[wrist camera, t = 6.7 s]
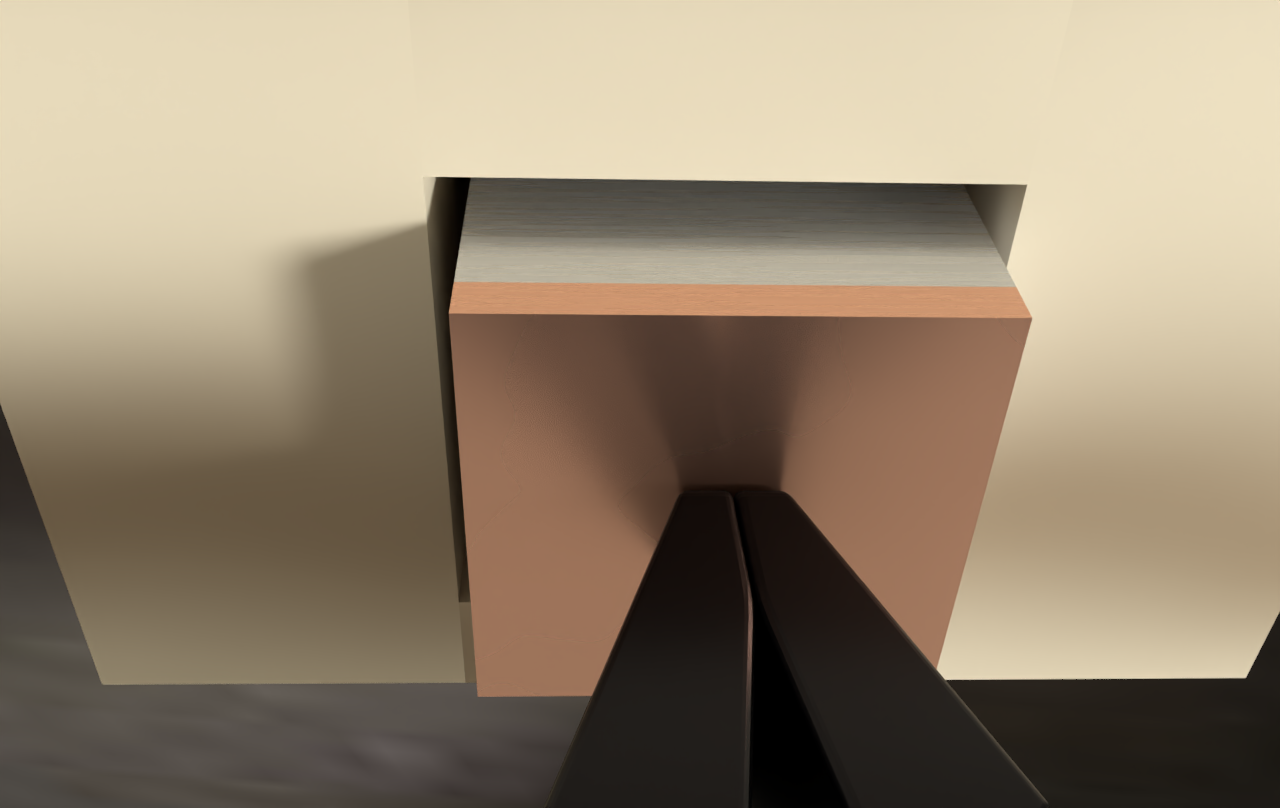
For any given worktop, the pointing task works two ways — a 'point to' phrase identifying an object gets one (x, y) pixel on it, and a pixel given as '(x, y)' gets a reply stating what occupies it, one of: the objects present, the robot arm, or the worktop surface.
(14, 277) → the socket block
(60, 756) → the worktop surface
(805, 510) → the peg
